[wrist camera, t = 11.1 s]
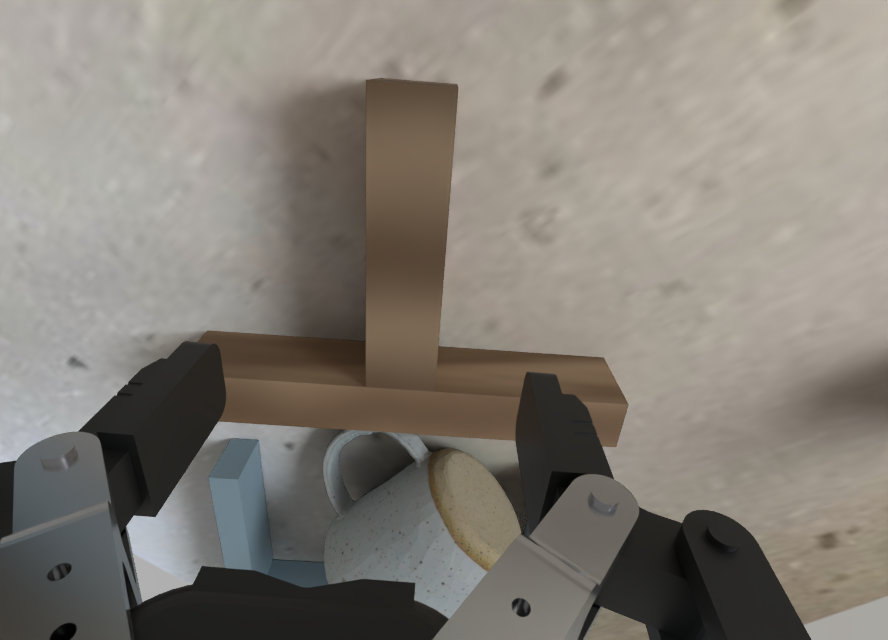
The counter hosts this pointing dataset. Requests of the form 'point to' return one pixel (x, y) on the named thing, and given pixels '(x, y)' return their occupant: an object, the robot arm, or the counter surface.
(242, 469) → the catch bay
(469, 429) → the scraper
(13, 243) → the counter surface
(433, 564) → the ceramic mug
